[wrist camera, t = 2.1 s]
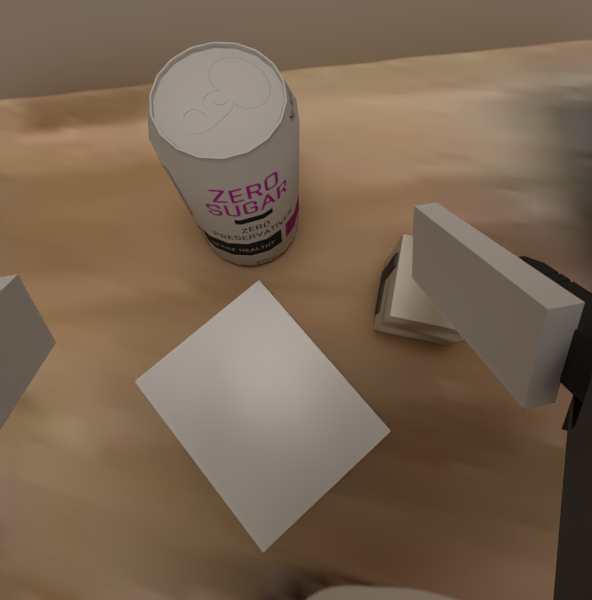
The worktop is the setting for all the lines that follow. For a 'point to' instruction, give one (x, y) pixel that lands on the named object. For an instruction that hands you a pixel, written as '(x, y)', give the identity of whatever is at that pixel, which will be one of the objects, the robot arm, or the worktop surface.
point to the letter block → (409, 302)
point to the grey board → (262, 413)
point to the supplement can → (230, 147)
